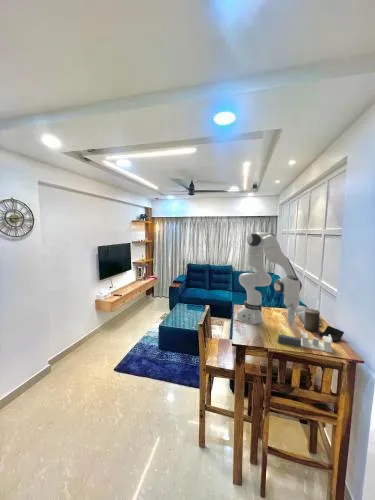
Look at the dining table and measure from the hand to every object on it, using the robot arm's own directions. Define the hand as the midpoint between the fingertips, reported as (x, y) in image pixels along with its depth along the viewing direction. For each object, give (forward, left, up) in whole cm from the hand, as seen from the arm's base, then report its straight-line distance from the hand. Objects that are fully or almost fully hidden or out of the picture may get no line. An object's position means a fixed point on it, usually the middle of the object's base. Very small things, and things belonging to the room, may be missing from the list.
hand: (290, 323), depth 137 cm
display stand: (+15, +5, -14) cm, 21 cm away
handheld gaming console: (+23, +20, -15) cm, 34 cm away
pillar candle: (+15, +32, -14) cm, 38 cm away
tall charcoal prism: (0, 0, -14) cm, 14 cm away
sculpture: (+14, +55, -15) cm, 58 cm away
